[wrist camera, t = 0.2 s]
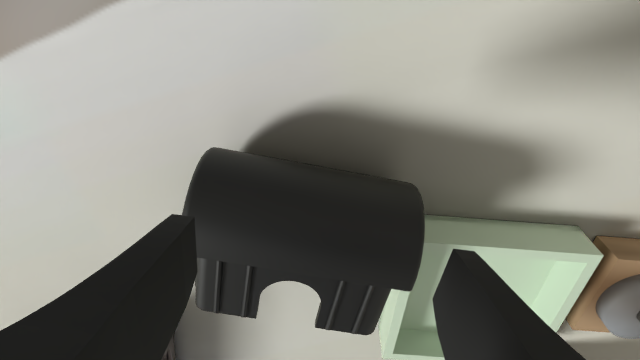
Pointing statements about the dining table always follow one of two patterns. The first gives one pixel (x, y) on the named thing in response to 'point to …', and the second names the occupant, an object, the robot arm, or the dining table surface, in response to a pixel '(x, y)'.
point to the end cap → (302, 236)
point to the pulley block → (611, 291)
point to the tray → (505, 259)
